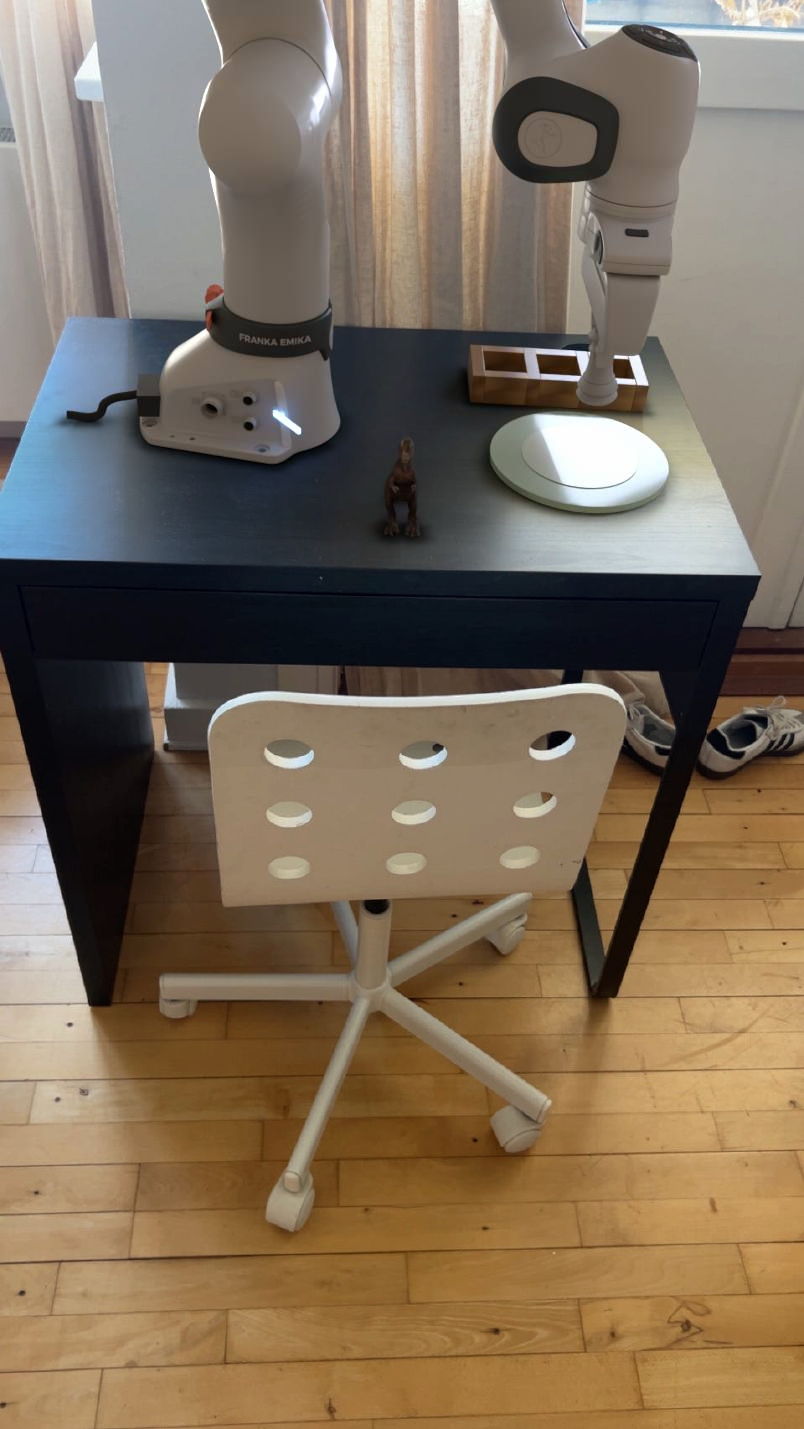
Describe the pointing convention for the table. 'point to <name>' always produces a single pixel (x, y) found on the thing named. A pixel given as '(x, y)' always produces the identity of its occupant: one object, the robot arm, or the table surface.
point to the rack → (548, 378)
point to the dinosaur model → (402, 490)
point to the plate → (579, 462)
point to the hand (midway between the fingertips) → (599, 356)
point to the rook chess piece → (596, 379)
